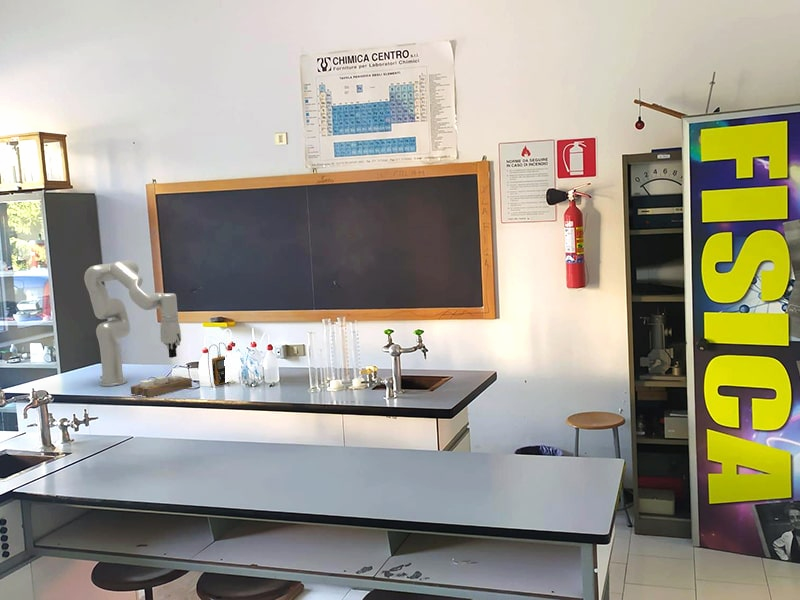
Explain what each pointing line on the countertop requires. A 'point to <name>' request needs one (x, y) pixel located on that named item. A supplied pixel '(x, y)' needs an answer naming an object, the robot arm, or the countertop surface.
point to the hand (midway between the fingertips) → (172, 356)
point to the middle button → (161, 380)
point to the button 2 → (175, 377)
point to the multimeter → (218, 369)
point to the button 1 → (147, 383)
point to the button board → (162, 387)
